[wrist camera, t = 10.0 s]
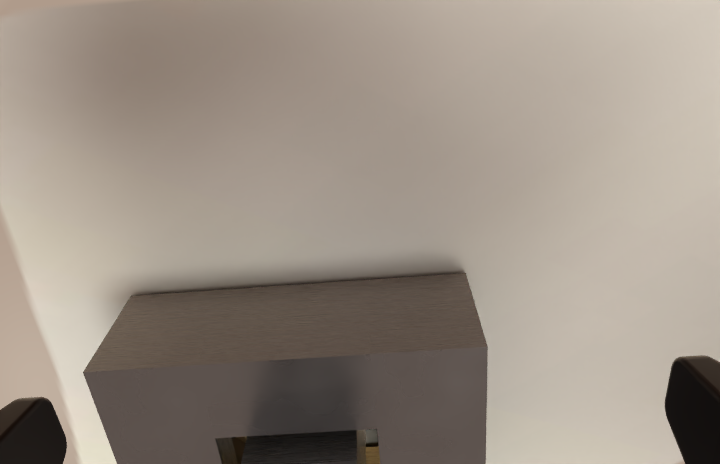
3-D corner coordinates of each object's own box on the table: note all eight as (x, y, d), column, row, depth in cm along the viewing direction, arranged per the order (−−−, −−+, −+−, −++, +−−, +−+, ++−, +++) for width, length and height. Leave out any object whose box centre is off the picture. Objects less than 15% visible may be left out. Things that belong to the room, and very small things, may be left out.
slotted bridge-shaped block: (465, 273, 23) (487, 346, 19) (466, 490, 28) (483, 584, 24) (131, 295, 23) (83, 372, 19) (195, 505, 29) (167, 599, 25)
